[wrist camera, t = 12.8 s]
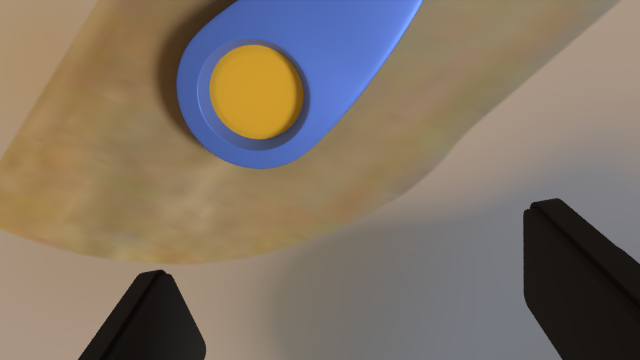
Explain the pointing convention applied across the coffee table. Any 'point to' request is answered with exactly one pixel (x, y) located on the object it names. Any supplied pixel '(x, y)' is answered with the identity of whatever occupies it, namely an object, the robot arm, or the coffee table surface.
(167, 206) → the coffee table surface
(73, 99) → the coffee table surface
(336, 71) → the location marker
